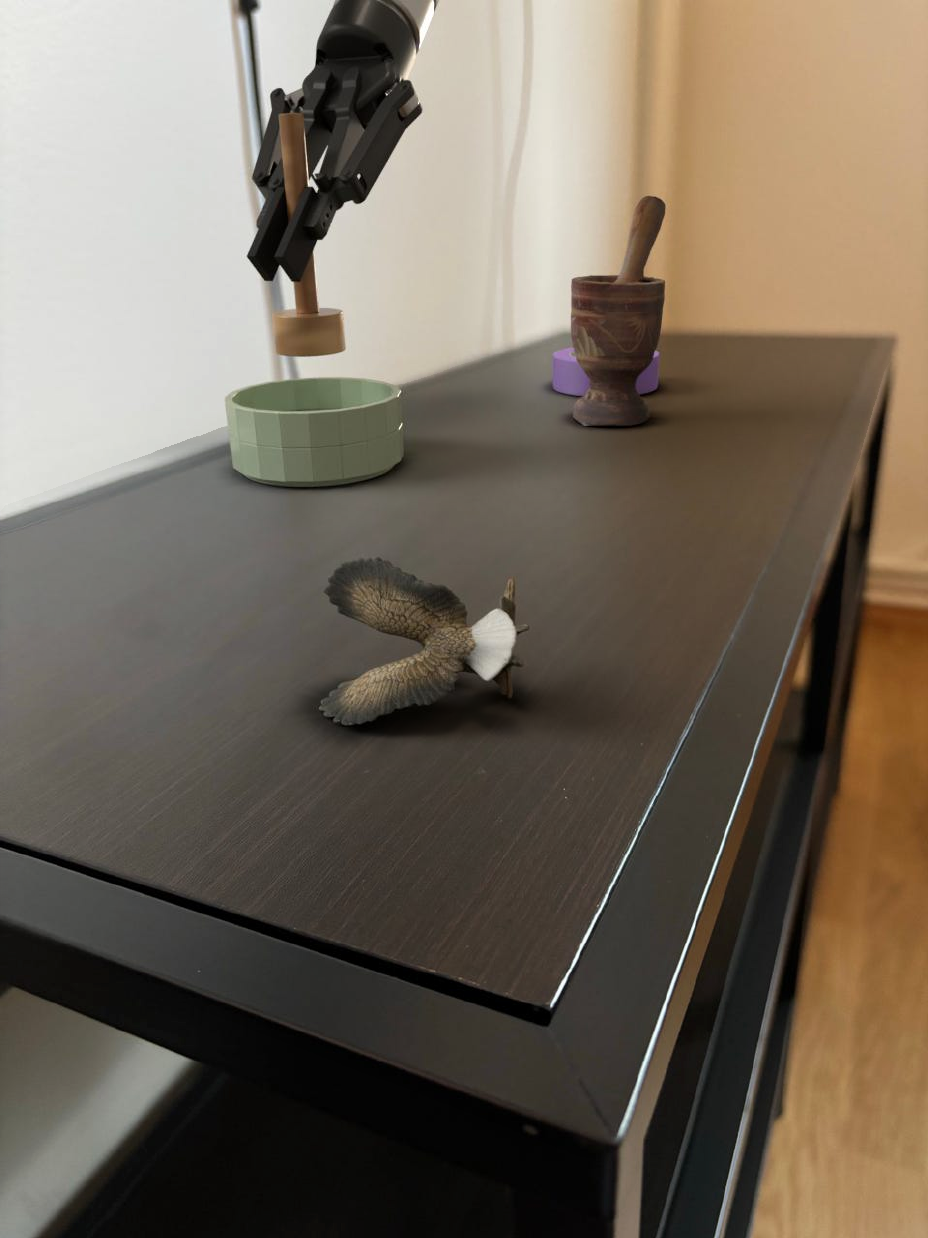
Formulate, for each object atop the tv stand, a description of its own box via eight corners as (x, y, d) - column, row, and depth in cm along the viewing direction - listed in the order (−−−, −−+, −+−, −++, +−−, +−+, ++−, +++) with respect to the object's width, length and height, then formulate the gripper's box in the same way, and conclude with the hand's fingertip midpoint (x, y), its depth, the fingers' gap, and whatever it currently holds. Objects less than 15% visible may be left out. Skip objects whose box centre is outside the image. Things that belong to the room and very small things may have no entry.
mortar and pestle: (578, 401, 104) (584, 195, 96) (661, 404, 102) (675, 194, 94) (561, 427, 94) (566, 199, 86) (653, 431, 92) (668, 197, 84)
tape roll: (533, 391, 109) (533, 356, 108) (582, 374, 118) (583, 341, 116) (630, 402, 103) (632, 365, 102) (674, 383, 112) (676, 348, 110)
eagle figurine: (495, 624, 51) (319, 606, 49) (533, 539, 45) (335, 516, 43) (502, 760, 46) (310, 746, 45) (545, 686, 41) (326, 668, 39)
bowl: (211, 489, 77) (201, 413, 75) (257, 443, 90) (250, 377, 88) (391, 489, 76) (387, 412, 74) (412, 443, 89) (409, 376, 87)
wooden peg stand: (268, 357, 77) (243, 112, 70) (284, 345, 82) (263, 116, 75) (339, 356, 77) (321, 110, 70) (351, 344, 82) (335, 114, 75)
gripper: (471, 67, 80) (379, 305, 74) (318, 78, 86) (220, 299, 80) (439, -19, 74) (336, 233, 67) (276, -1, 80) (166, 232, 73)
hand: (273, 268), depth 73 cm, fingers closed on wooden peg stand, 2 cm apart
